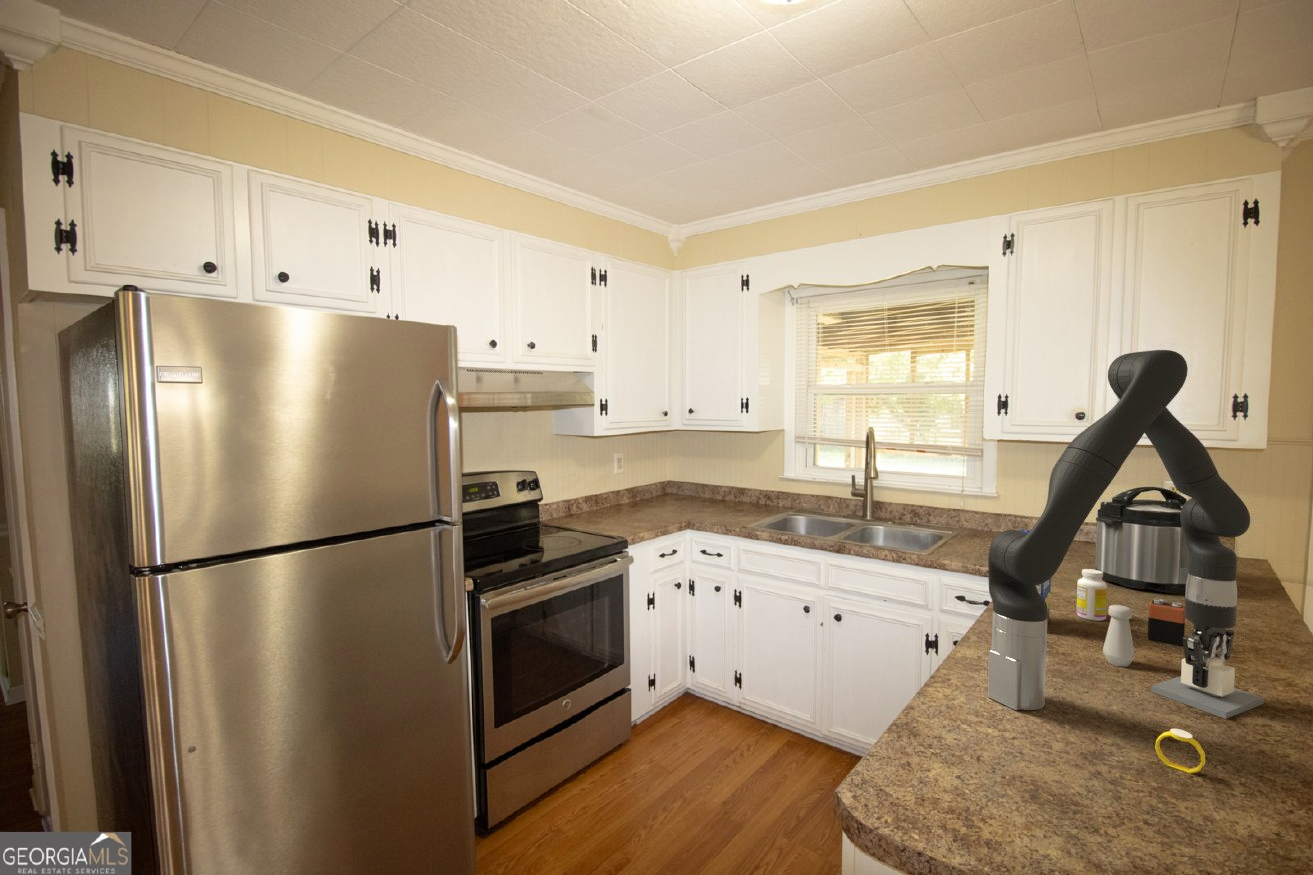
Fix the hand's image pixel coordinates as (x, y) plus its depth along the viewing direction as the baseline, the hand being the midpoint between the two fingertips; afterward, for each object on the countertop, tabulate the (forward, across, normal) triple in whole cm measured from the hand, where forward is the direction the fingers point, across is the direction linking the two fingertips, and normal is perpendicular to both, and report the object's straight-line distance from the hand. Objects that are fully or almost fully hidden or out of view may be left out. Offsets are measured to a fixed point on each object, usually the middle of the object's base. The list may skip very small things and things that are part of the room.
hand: (1206, 683), depth 121 cm
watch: (+3, -33, -11) cm, 35 cm away
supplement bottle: (+3, +28, +38) cm, 47 cm away
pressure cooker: (+3, +78, +51) cm, 93 cm away
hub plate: (+3, 0, 0) cm, 3 cm away
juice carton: (+3, +8, +42) cm, 43 cm away
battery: (+3, +27, +20) cm, 34 cm away
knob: (+1, 0, 0) cm, 1 cm away
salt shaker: (+3, +2, +17) cm, 17 cm away
